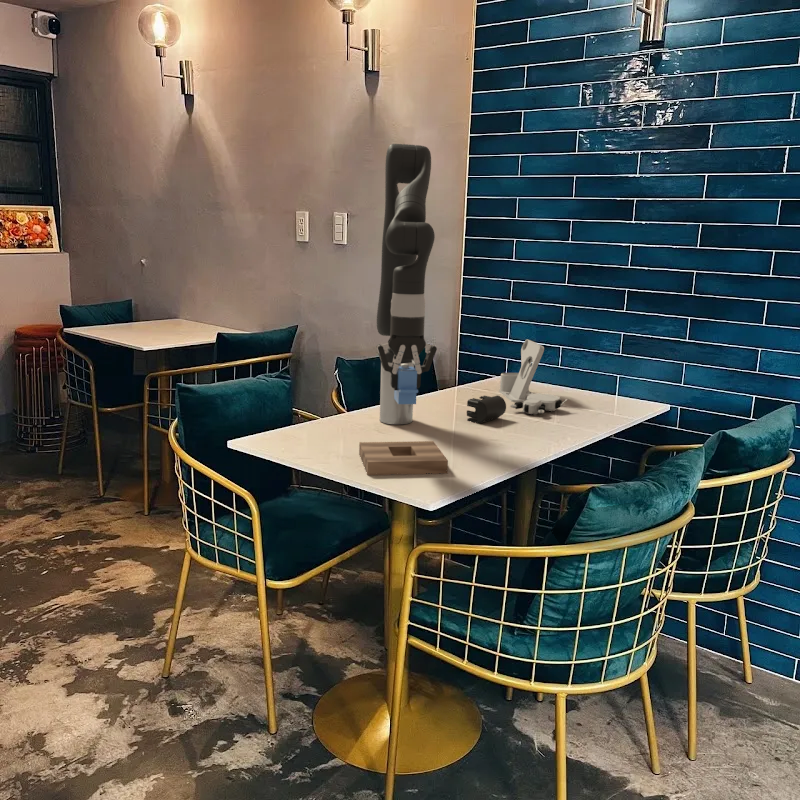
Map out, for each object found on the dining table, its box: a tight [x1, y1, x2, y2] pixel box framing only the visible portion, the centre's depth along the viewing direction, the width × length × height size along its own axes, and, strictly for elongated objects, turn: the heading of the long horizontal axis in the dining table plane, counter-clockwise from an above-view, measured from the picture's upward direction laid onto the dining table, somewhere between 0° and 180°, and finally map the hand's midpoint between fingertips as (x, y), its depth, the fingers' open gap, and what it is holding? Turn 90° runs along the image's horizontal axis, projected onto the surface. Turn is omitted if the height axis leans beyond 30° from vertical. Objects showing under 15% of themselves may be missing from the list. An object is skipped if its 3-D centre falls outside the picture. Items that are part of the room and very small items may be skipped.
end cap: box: [466, 395, 507, 424], centre depth 227 cm, size 10×7×7 cm
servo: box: [394, 364, 419, 405], centre depth 180 cm, size 10×4×8 cm, turn 10°
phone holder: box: [498, 339, 545, 403], centre depth 260 cm, size 17×10×18 cm, turn 9°
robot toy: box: [509, 392, 568, 416], centre depth 240 cm, size 12×4×15 cm
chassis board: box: [358, 440, 449, 476], centre depth 184 cm, size 16×18×3 cm
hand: (405, 389), depth 181 cm, fingers closed on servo, 4 cm apart
